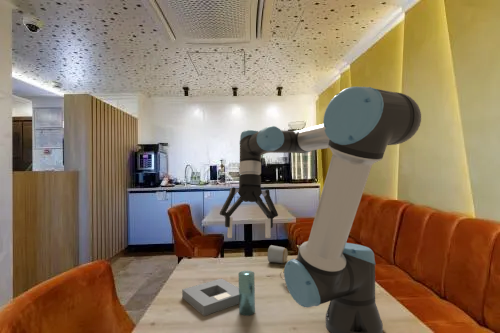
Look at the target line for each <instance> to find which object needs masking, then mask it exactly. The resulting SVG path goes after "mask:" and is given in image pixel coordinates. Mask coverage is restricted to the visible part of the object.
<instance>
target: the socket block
mask: <svg viewBox="0 0 500 333" xmlns="http://www.w3.org/2000/svg"><path fill="white" fill-rule="evenodd" d="M181 293H182V299H183V300H184V301H185V302H187V303H188V304H189V305H190V306H192V308H193V309H195V310H196V311H198V312H199V313H200V314H201V315H202V316H203V317H205V316H208V315H211V314H213V313H217V312H219V311H222V310H225V309H228V308H231V307H233V306H236V305H239V286H238V287H237V286H236V285H235V284H232V283H230V282H228V281H227V280H225V279H223V278H218V279H214V280H211V281H207V282H203V283H200V284H197V285H193V286H189V287H186V288H183V289H182V292H181Z"/></svg>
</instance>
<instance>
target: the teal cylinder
mask: <svg viewBox="0 0 500 333" xmlns="http://www.w3.org/2000/svg"><path fill="white" fill-rule="evenodd" d="M238 288H239V304H238V311H239V312H238V313H239V314H240V315H242V316H251V315H254V314H255V313H256V304H255V302H256V296H255V295H256V294H255V291H256V288H255V272H254V271H252V270H242V271H239V272H238Z"/></svg>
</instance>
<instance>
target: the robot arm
mask: <svg viewBox="0 0 500 333" xmlns="http://www.w3.org/2000/svg"><path fill="white" fill-rule="evenodd" d="M421 122H422V111H421V109H420V107H419V104H418V103H417V102H416V100H414V99H413V98H412V97H411V96H409V95H407V94H406V93H405V94H404V93H402V92H395V91H389V90H384V89H379V88H374V87H371V86H350V87H346V88H344V89H342V90H341V91H340V92H338V93H336V95H334V97H333V98H332V99H330V102H329V103H328V104H327V106H326V109H325V111H324V115H323V122H322V124H321V123H320V124H318V125H313V126H310V127H307V128H303V129H299V130H282V129H281V128H279V127H277V126H275V125H270V126H269V125H268V126H266V127H264V128H262V129H261V130H255V129H247V130H244V131H241V133H240V138H239V172H238V173H239V174H240V175H239V178H238V185H239V186H238V188H236V187H235V186H233V187H231V188H229V193H228V196H227V198H226V200H225V201H224V203H223V206H222V208H221V209H220V211H219V215H220V216H223V217H224V227H225V228H227V239H232V238H233V221H234V220H233V216H232V214H234V212H235V211H236V210H237V209H238V208H239V206H241V204H243V202H244V203H256V204H257V206H258V207H259V208H260V209H261V211H262V212H263V214H264V215H265V217H266V218H265V219H264V220H265V226H264V228H265V229H264V230H265V231H264V232H265V234H264V235H265V237H264V238H265V239H271V237H272V236H271V229H273V227H274V224H273V223H274V222H273V221H274V218H276V217H278V216H279V213H278V211H277V209H276V207H275V204H274V203H273V200H272V198H271V194H270V193H271V192H270V189H264V190H262V188H261V186H262V176H261V174H262V155H265V154H269V153H273V154H276V153H277V154H283V153H284V154H287V153H289V154H290V153H291V154H306V153H310V152H312V151H317V150H323V149H329V150H330V151H331V153H332V156H331V159H330V162H329V165H328V169H327V173H326V176H325V180H324V184H323V187H322V191H321V194H320V197H319V201H318V204H317V208H316V212H315V214H314V215H315V216H314V219H313V223H312V226H311V230H310V233H309V235H308V236H309V237H308V240H307V241H304V242H302V244H300V245H299V246H300V249H299V248H298V252H299V253H298V252H297V253H298V254H297V257H296V258H292V259H290V260H288V261H286V262H285V265H284V268H283V269H284V273H283V277H284V281H285V284H286V288H287V290H288V293H289V294H290V296H291V298H292V299H293V300H294V301H295V302H296V303H297V305H299V306H301V307H303V308H312V307H319V306H320V305H322V304H325V303H329V305H328V307H327V310H326V313H325V327H326V329H327V330H328V331H329V332H330V333H384V326H383V320H382V318H381V315H380V312H379V309H378V306H377V302H376V260H375V253H374V251H373V250H372V249H371V248H370V247H368V246H365V245H361V244H357V243H351V242H347V241H348V239H349V235H350V232H351V229H352V227H353V223H354V220H355V218H356V215H357V211H358V209H359V206H360V203H361V200H362V196H363V193H364V190H365V189H366V184H367V182H368V179H369V176H370V172H371V169H372V166H373V165H374V164H376V163H379V162H380V161H382V160H383V158H384V155H385V152H386V149H387V146H394V145H395V146H396V145H399V144H403V143H406V142H407V141H409V140H410V139H412V138H413V136H415V135H416V133H417V132H418V130H419V128H420V127H421ZM237 194H238V195H239V197H238V198H237V200H236V201H235V202H234V204H233V205H232V206H230V205H231V204H232V201H233V199H234V197H235V195H237ZM261 195H262V196H263V197H264V200H265V202H266V204H265V202H264V201H263V199H262V198H261ZM229 207H230V208H229Z"/></svg>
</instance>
